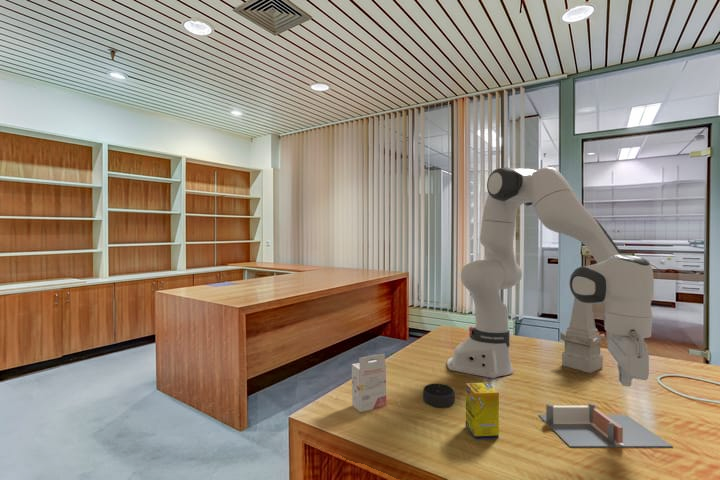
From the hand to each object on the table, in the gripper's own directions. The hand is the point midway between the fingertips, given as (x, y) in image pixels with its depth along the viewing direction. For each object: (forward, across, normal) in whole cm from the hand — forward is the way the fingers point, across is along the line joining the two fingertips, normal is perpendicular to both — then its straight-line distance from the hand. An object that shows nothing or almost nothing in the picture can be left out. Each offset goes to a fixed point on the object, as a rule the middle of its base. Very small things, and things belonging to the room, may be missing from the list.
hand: (624, 383), depth 86 cm
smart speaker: (+14, +1, +43) cm, 46 cm away
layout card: (+13, +2, +4) cm, 14 cm away
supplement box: (+14, -11, +30) cm, 35 cm away
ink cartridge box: (+15, -9, +61) cm, 63 cm away
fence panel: (+12, -1, +3) cm, 12 cm away
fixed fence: (+13, -1, +9) cm, 16 cm away
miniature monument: (+14, +51, +1) cm, 53 cm away
